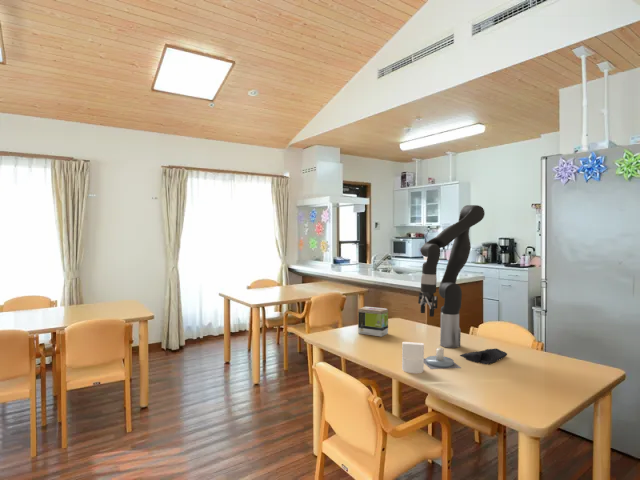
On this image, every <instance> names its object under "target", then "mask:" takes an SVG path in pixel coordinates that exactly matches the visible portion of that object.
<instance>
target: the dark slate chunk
mask: <svg viewBox="0 0 640 480" xmlns="http://www.w3.org/2000/svg"><path fill="white" fill-rule="evenodd" d="M506 356H508V353H507V352H505V351H504V350H500V349H499V348H490V349H489V348H487V349H484V350H477V351H473V352H472V351H471V352H466V353H462V354H460V355H459V357H462V358H464V359H466V360H467V361H470V362H473V363H475V364H476V363H477V364H478V363H479V364H482V365H491V364H490V363H492V364H494V363H496V362H498V361H500V360H502V359H503V358H505V357H506ZM501 358H502V359H501ZM499 359H500V360H499ZM497 360H498V361H497ZM493 362H494V363H493Z"/></svg>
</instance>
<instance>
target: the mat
mask: <svg viewBox="0 0 640 480" xmlns="http://www.w3.org/2000/svg"><path fill="white" fill-rule="evenodd" d="M426 358H427V357H425V358H424V365H425V366H427V367H428V368H429V370H442V369H443V370H444V369H462V367H461V366H460V365H458V364H457V363H456V362H454V365H453V366H452V367H448V368H440V367H434V366H431V365H428V364H427V363H426Z"/></svg>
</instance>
